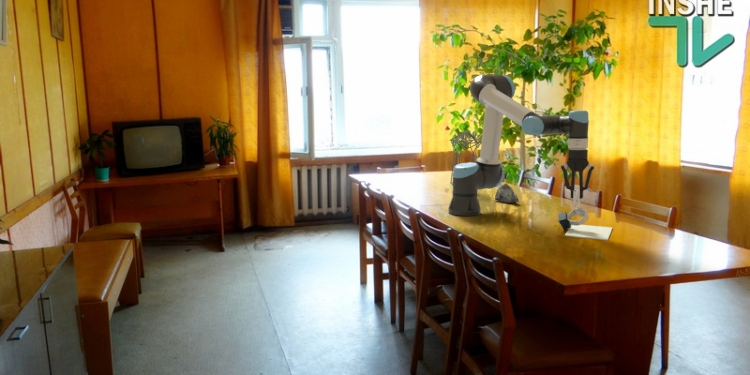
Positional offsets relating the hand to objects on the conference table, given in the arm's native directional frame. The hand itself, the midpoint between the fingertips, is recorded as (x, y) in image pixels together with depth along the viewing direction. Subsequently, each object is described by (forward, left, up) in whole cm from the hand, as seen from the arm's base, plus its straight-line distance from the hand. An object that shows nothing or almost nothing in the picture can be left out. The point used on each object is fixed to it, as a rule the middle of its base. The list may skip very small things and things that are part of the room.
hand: (576, 206), depth 238 cm
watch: (-6, 0, -7) cm, 9 cm away
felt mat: (+5, 0, -10) cm, 12 cm away
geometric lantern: (-70, +69, -11) cm, 99 cm away
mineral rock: (-40, +49, -11) cm, 64 cm away
